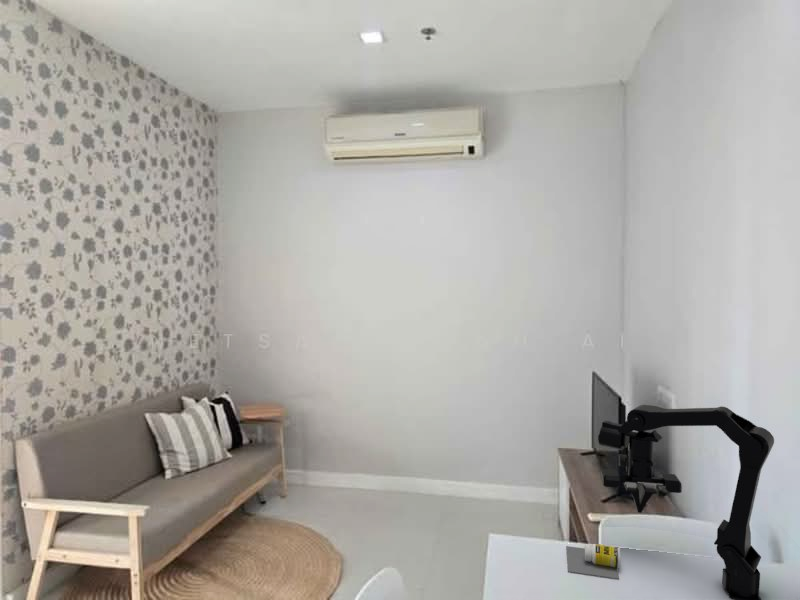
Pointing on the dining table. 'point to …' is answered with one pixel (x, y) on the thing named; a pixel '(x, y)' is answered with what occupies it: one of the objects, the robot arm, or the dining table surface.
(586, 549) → the supplement bottle
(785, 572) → the dining table surface
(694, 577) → the dining table surface
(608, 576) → the mat
